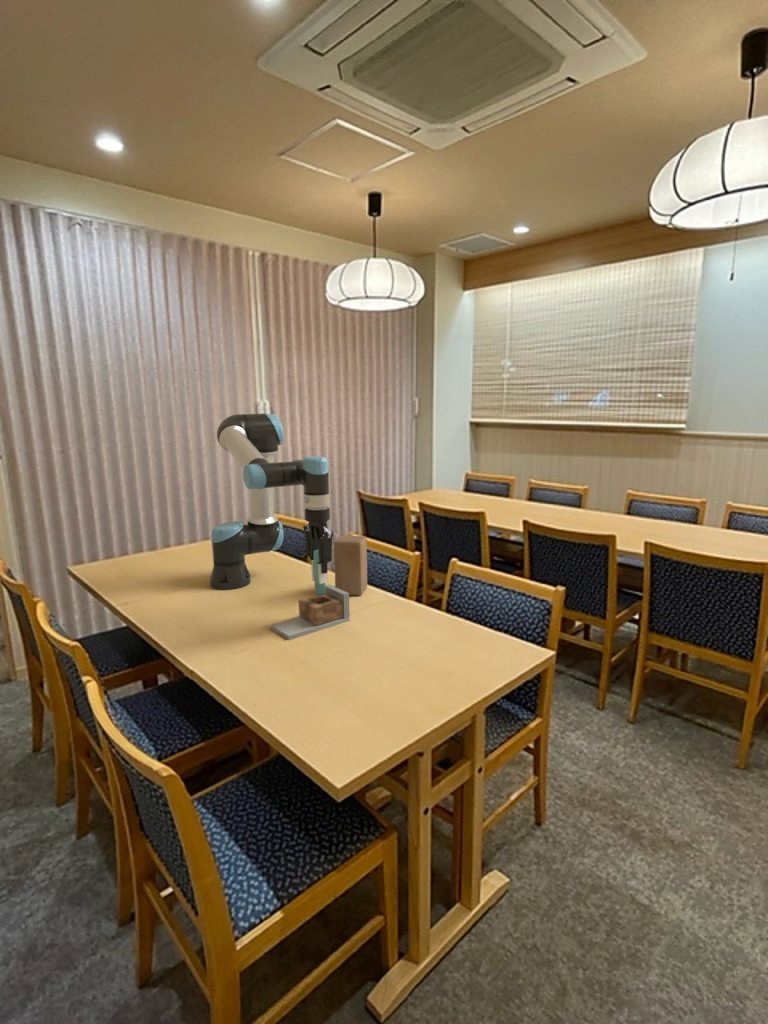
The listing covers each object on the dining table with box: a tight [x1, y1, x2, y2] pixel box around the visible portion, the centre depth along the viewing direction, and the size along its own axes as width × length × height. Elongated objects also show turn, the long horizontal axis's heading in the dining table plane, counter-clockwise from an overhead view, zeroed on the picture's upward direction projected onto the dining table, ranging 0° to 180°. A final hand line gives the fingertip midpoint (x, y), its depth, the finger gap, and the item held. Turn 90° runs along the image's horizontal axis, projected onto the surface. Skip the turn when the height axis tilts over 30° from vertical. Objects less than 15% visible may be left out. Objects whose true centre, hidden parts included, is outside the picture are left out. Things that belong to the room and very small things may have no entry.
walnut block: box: [298, 593, 343, 626], centre depth 173 cm, size 10×10×6 cm
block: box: [333, 534, 368, 596], centre depth 200 cm, size 10×10×20 cm
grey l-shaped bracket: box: [270, 584, 351, 641], centre depth 171 cm, size 11×22×9 cm, turn 130°
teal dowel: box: [313, 550, 326, 596], centre depth 171 cm, size 3×3×14 cm
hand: (319, 581), depth 171 cm, fingers closed on teal dowel, 3 cm apart
